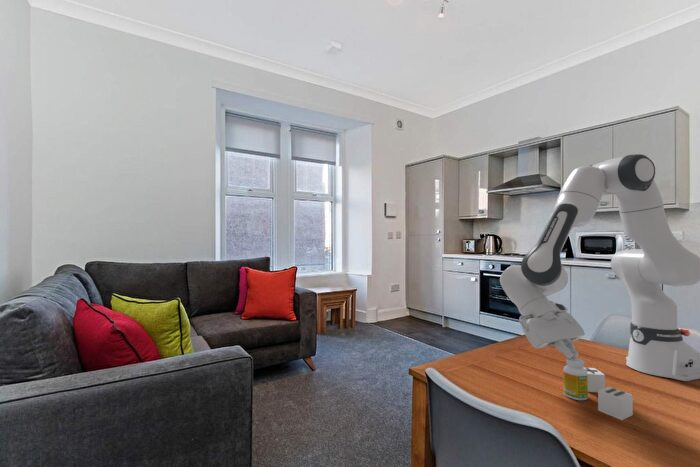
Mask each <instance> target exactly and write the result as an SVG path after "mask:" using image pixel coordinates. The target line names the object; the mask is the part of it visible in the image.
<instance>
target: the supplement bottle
mask: <svg viewBox="0 0 700 467" xmlns="http://www.w3.org/2000/svg"><path fill="white" fill-rule="evenodd" d="M565 360H566V361H565V362H566V363H565V364H566V365H565V366H564V367H563V395H564V396H566V397H567V398H569V399H572V400H575V401H576V400H577V401H586V400H588V397H589V396H588V393H589V392H588V376H587V371H586V370H585V369H584V368H585V361H584V360H583V359H581V358H578V357H575V358H571V359H568V358H567V357H566V358H565ZM583 367H584V368H583Z"/></svg>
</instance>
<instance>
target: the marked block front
mask: <svg viewBox="0 0 700 467" xmlns="http://www.w3.org/2000/svg"><path fill="white" fill-rule="evenodd" d="M633 397H634V396H633V394H631V393H629V392H626V391H623V390H620V389H617V388H614V387H611V386H607V387H606V386H605V388H604V389H601V390H598V392H597V398H598V399H597V400H598V401H597V410H598V411H599V412H601V413H603V414H606V415H608V416H611V417H613V418H616V419H618V420H620V421H624V420H625V419H627V418H629V417H632V416H633V415H634V412H633V411H634V409H633V407H634V406H633V405H634V404H633V401H634V400H633Z"/></svg>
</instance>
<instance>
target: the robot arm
mask: <svg viewBox="0 0 700 467" xmlns="http://www.w3.org/2000/svg"><path fill="white" fill-rule="evenodd" d="M655 176H656V166H655V164H654V162H653V161H652V159H651V158H649V157H648V156H647V155H645V154H640V153H638V154H627V155H625V156H619V157H614V158H610V159H609V158H608V159H606V160H603V161H601V162H599V163H598V162H597V163H596V164H590V165H581V166H578V167H576V168H574V169H573V170H572V171H571V172H570V173H569V175H568V177H567V179H566V180H565V181H564V184H563V186H562V187H561V188H560V191H559V194H558V196H557V198H556V201H555V204H554V207H553V210H552V212H551V214H550V216H549V218H548V219H547V222H546V224H545V225H544V228H543V230H542V232H541V234H540V236H539V238H538V240H537V242H536V244H535V245H534V246H533V247H532V248H531V249H530V250H528V252H527V253H526V254H525V255H524V256H523V258H522V261H521V263H520V265H519V264H517V265H516V264H512V265H510V266H508V267H507V268H506V269H504V270H503V272H502V273H501V275H500V276H499V277H500V278H499V283H500V286H501V288H502V289H503V291H504V293H505V295H506V296H507V297H508V299H509V300H510V301H511V302H512V303H514V305H515V306H516V307H517V310H518V312H519V314H520V316H519V319H518V322H519V324H520V326H521V329H522V331H523V333H524V335H525V337H526V338H527V340H528V342H529V344H530V345H531V346H532V347H533V348H535V349H541V348H546V347H551V346H552V347H553V346H554V347H555V349H557V350H558V351H559V352H560V353H562V354H564V356H565V357H566V358H568V359H571V358H578V356H579V354H580V353H579V352H578V351H577V350H576V348H575V345H574V341H575V342H576V341H578V340H580V339H581V338H582V337H585V335H586V334H585V330H584V328H583V327H582V326H581V324H579V322H578V321H577V320H576V318H575V317H574V316H573V315H572V314H571V313H569V312H567V311H568V307H566V306H565V305H564V304H563V303H558V302H554V301H552V300H549V299H548V298H547V297H548V296H550V295H552V294H555V293H557V292H559V291H562V290H563V289H564V288H565V286H566V287H567V284H568V280H569V278H568V277H569V276H568V272H567V271H566V269H565V267H564V266H563V264H562V260H561V259H562V258H561V253H562V250H563V248H564V245H565V244H566V242H567V240H568V237H569V236H570V233H571V231H572V230H573V228H577V227H578V228H579V227H583V226H585V225H587V224H589V223H590V222H591V220H592V219H593V217H594V216H595V214H596V212H597V210H598V208H599V206H600V203H601V200H602V197H603V196H610V195H615V196H616V197H617V206H618V207H617V208H618V211H619V212H618V213H619V217H620V222H621V225H622V231H623V233H624V236H626V237H627V238H628V239H630V240H632V241H633V242H635V243H636V244H637V245H638V246H639V247H640V248H639V249H638V248H630V249H625V250H624V249H623V250H620V251H617V252H615V253H614V255H612V257H611V260H610V267H611V271H612V272H613V273H614V275H616V276H617V277H618V278H619V279H620V280H621V282H622V283H623V284H624V286H625V288H626V291H627V292H628V295H629V299H630V306H631V307H630V308H631V322H630V323H629V324H630V327H629V329H630V330H629V331H630V332H629V333H630V335H631V337H630V338H629V345H628V354H627V356H626V357H625V360H626V362H625V364H626V366H628V368H631V369H632V370H636V371H637V372H640V373H644V374H648V375H652V376H657V377H661V378H662V377H663V378H668V379H669V378H670V379H674V380H678V381H683V382H690V381H694V380H699V379H700V352H699V351H698V350H696V349H695V348H694V347H692V346H691V345H690V344H689V343H687V342H686V341H684V338H683V336H685V337H689V336H690V335H691V332H690V330H689V329H684V328H678V305H677V303H676V302H675V300H673V299H672V298H670V297H669V296H668V294H666V293H665V292H664V291H663V289H662V287H661V285H665V286H672V287H673V286H675V287H676V286H677V287H679V286H680V287H681V286H693V285H695V284H698V283H699V282H700V257H699V255H697V254H695V253H694V252H691V251H690V250H688V249H687V248H686V247H685V246H683V244H681V243H680V242H679V240H678V239H677V238H676V237H675V235H674V234H673V232H672V230H671V228H670V226H669V222H668V219H667V215H666V211H665V207H664V206H665V205H664V202H663V199H662V196H661V192H660V189H659V188H658V186H657V185H658V184H657V183H656V182H655V180H654V179H655Z"/></svg>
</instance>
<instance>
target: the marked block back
mask: <svg viewBox="0 0 700 467" xmlns="http://www.w3.org/2000/svg"><path fill="white" fill-rule="evenodd" d="M583 368H584V369H585V370H586V371H587V376H588V393H598V390H601V389H604V388H606V375H605V374H604V373H603V372H602V371H600V370H598V369H596V368H595V367H585V366H584V367H583Z"/></svg>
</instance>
